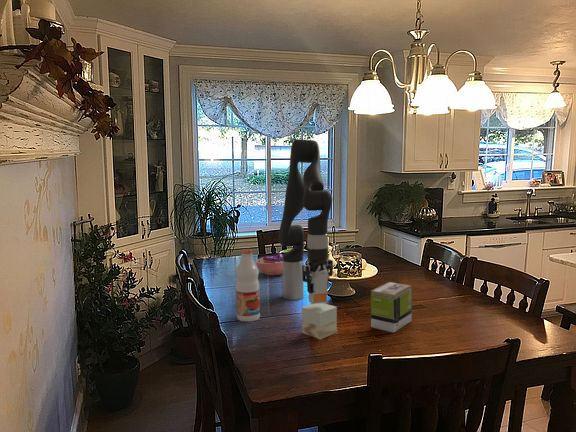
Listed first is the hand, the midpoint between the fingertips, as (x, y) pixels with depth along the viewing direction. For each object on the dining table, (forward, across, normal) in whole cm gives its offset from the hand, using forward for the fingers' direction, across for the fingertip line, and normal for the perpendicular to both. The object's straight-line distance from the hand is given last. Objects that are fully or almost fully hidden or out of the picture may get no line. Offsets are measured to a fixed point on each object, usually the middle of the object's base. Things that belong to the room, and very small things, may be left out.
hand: (318, 290), depth 176 cm
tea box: (+16, -26, +14) cm, 34 cm away
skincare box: (+5, 0, 0) cm, 5 cm away
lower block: (+16, 0, 0) cm, 16 cm away
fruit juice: (+16, +8, -31) cm, 36 cm away
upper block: (+11, 0, 0) cm, 11 cm away
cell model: (+17, -45, -75) cm, 89 cm away
